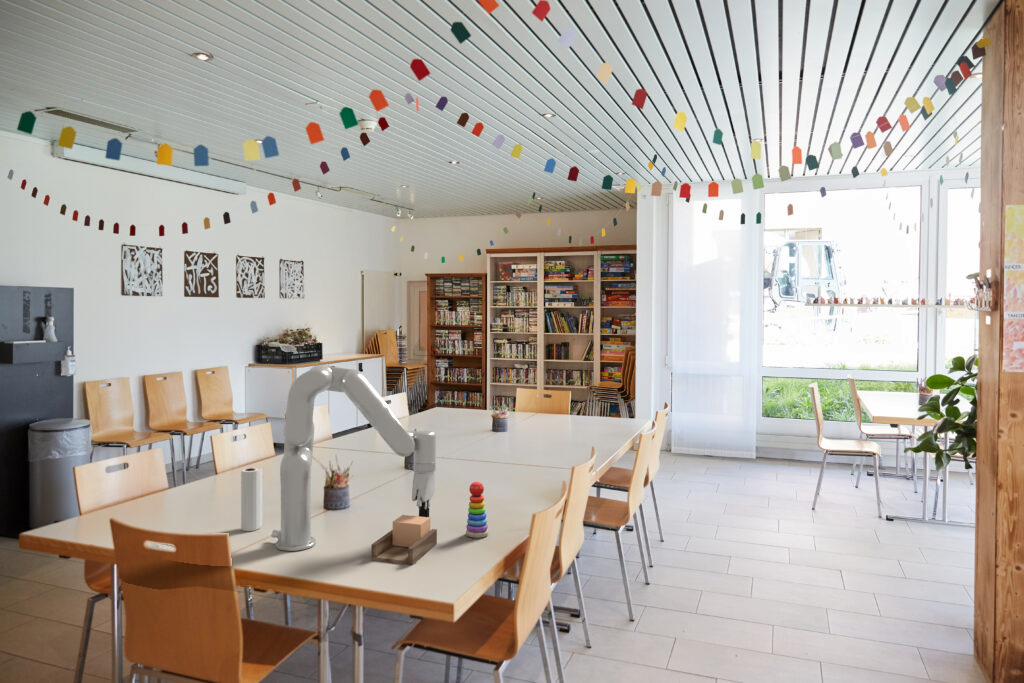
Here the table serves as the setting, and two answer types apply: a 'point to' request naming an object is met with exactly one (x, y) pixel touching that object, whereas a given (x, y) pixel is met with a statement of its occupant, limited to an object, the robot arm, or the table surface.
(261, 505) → the paper towel roll
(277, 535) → the robot arm
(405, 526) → the block
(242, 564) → the table surface
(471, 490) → the stacking toy
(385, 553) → the chute
